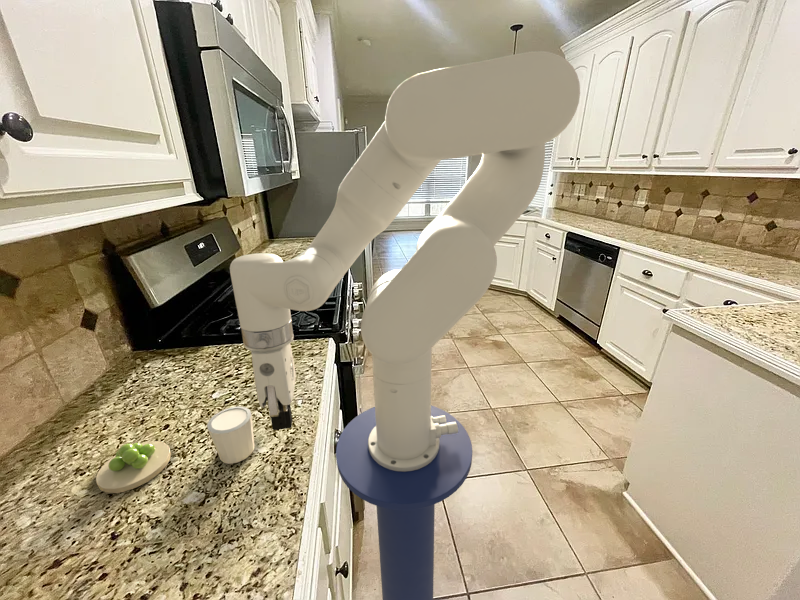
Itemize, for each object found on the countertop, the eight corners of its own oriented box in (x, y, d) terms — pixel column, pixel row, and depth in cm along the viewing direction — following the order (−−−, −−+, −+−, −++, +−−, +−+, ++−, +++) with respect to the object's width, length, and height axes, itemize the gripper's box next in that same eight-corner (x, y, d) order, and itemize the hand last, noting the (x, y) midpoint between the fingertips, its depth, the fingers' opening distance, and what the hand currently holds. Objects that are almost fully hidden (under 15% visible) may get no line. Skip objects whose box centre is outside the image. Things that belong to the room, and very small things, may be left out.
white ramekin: (248, 466, 57) (241, 432, 55) (207, 467, 57) (198, 433, 55) (263, 436, 64) (257, 405, 61) (227, 437, 64) (219, 406, 61)
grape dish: (180, 441, 63) (173, 419, 61) (155, 486, 54) (146, 462, 52) (119, 450, 61) (110, 427, 60) (82, 499, 52) (70, 474, 50)
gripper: (287, 352, 48) (302, 454, 55) (296, 312, 62) (306, 397, 68) (230, 358, 47) (252, 462, 53) (252, 316, 61) (267, 403, 67)
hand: (282, 425), depth 61 cm, fingers closed
